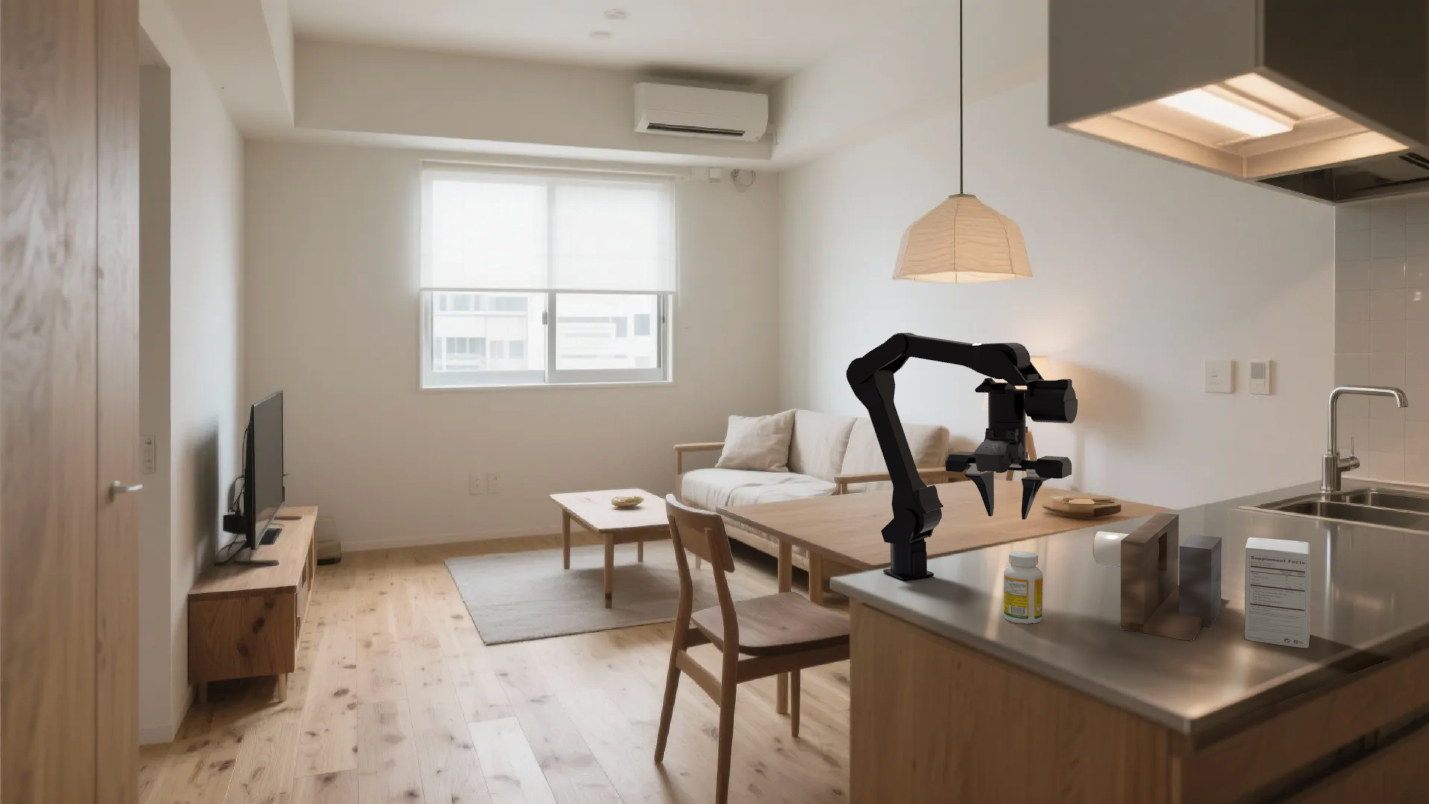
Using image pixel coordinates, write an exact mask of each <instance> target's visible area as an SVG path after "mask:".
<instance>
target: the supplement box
mask: <svg viewBox="0 0 1429 804" xmlns="http://www.w3.org/2000/svg"><path fill="white" fill-rule="evenodd" d="M1310 549H1311V543H1310V542H1307V541H1301V540H1290V539H1289V540H1288V539H1279V538H1278V539H1277V538H1276V539H1275V538H1262V537H1250V536H1249V537H1248V538H1247V541H1246V544H1245V547H1244V550H1245V551H1244V639H1245V640H1246V641H1251V642H1257V643H1263V644H1264V643H1265V644H1272V645H1278V646H1279V645H1280V646H1287V647H1293V648H1300V649H1301V648H1302V649H1308V648H1309V644H1310V635H1311V632H1310V631H1311V550H1310Z"/></svg>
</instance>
